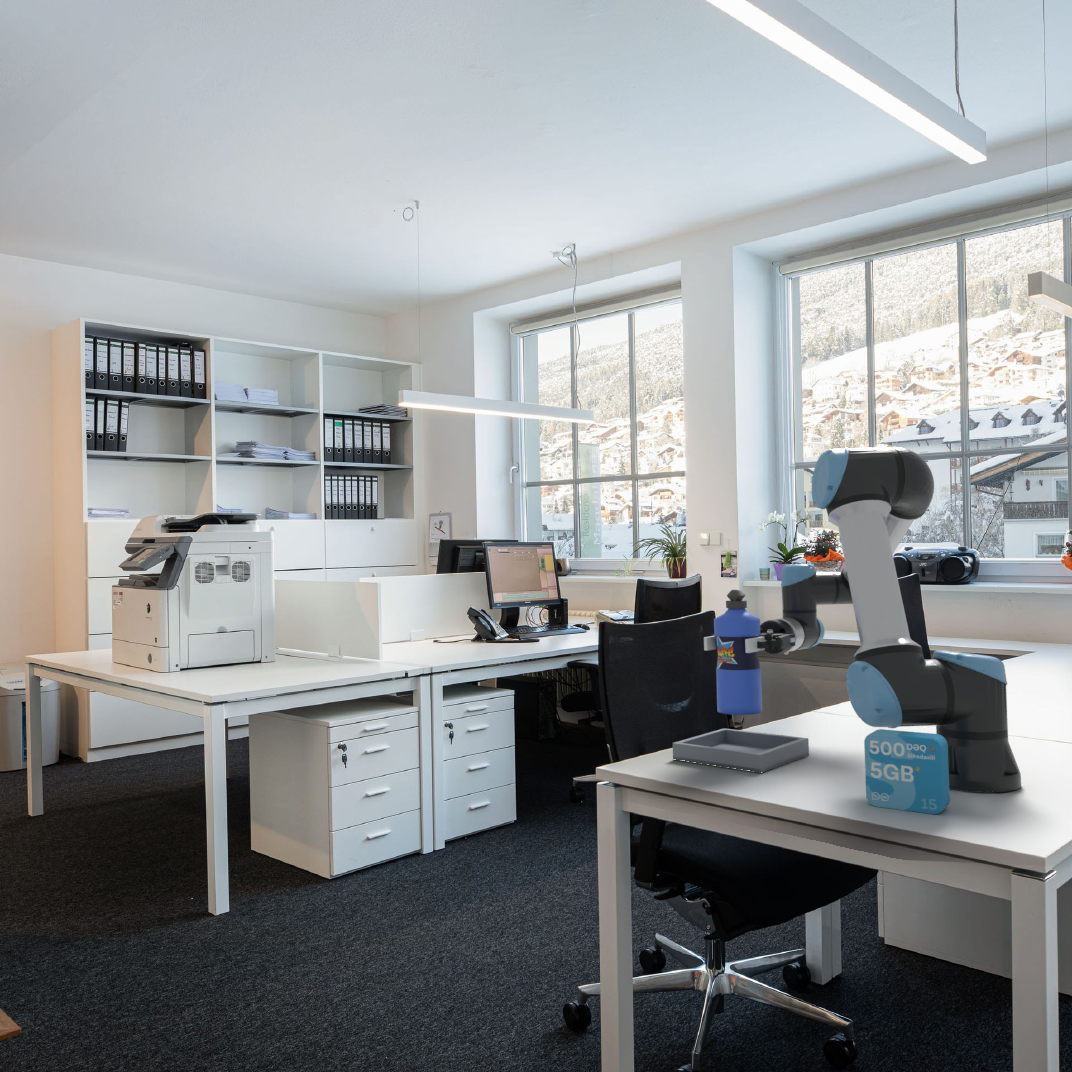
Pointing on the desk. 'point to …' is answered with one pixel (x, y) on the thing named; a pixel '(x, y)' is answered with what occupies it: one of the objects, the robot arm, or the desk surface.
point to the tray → (741, 749)
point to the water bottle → (737, 659)
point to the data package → (907, 771)
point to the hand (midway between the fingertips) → (726, 645)
